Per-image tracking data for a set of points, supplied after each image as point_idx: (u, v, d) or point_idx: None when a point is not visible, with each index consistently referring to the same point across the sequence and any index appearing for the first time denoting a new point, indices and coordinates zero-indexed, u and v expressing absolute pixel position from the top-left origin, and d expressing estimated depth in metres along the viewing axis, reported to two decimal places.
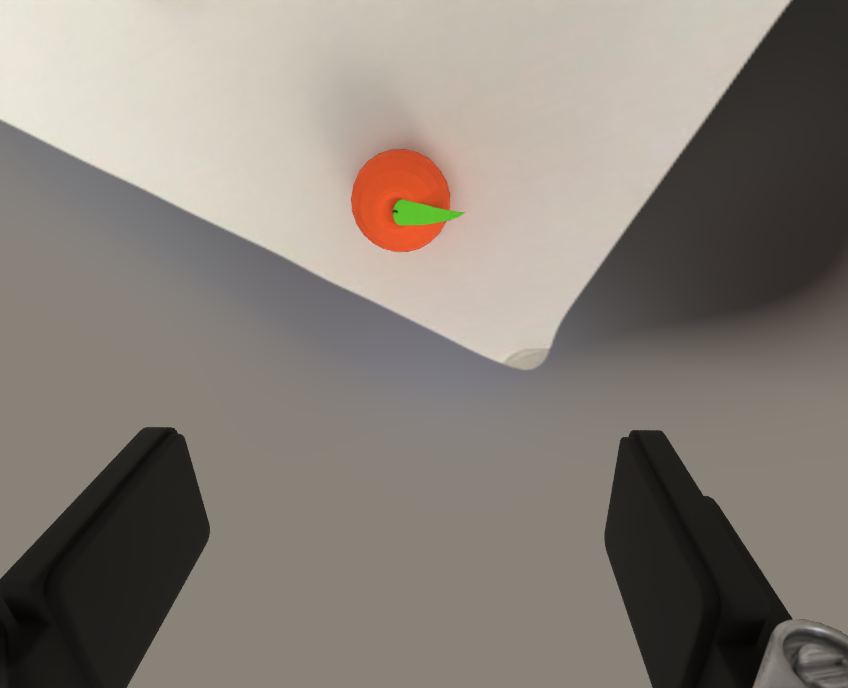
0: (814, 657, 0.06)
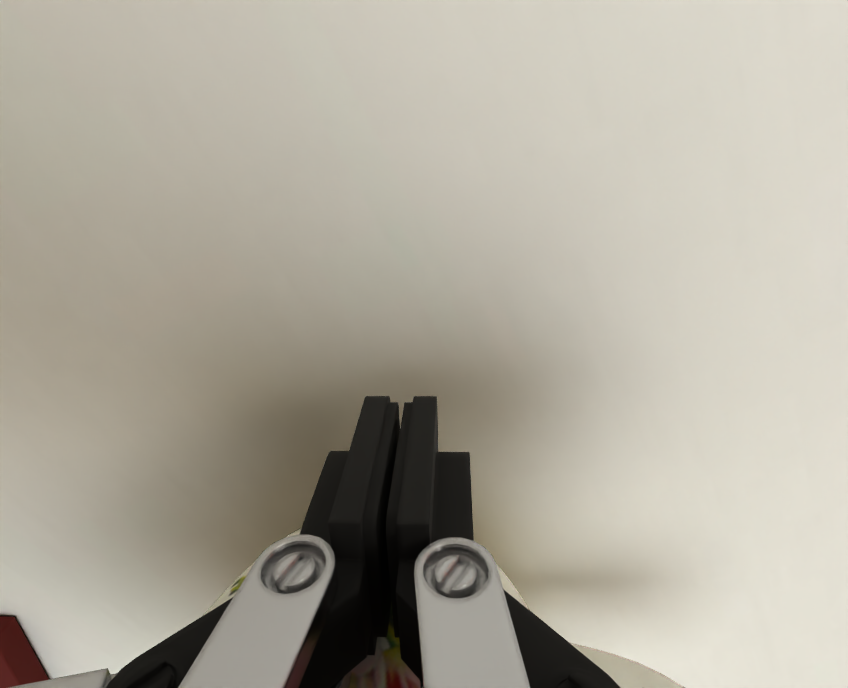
0: (444, 569, 0.07)
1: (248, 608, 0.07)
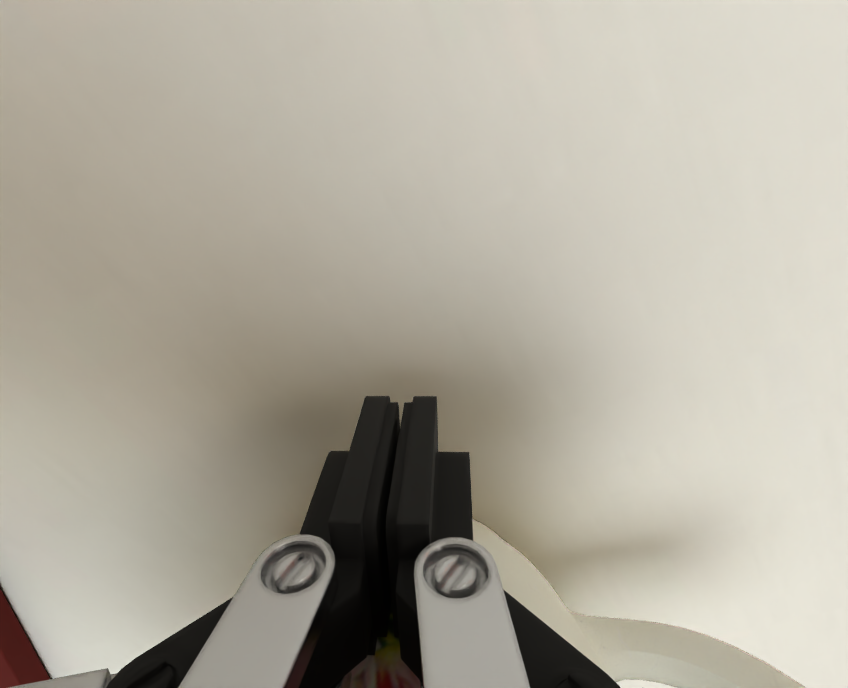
0: (444, 570, 0.07)
1: (248, 608, 0.07)
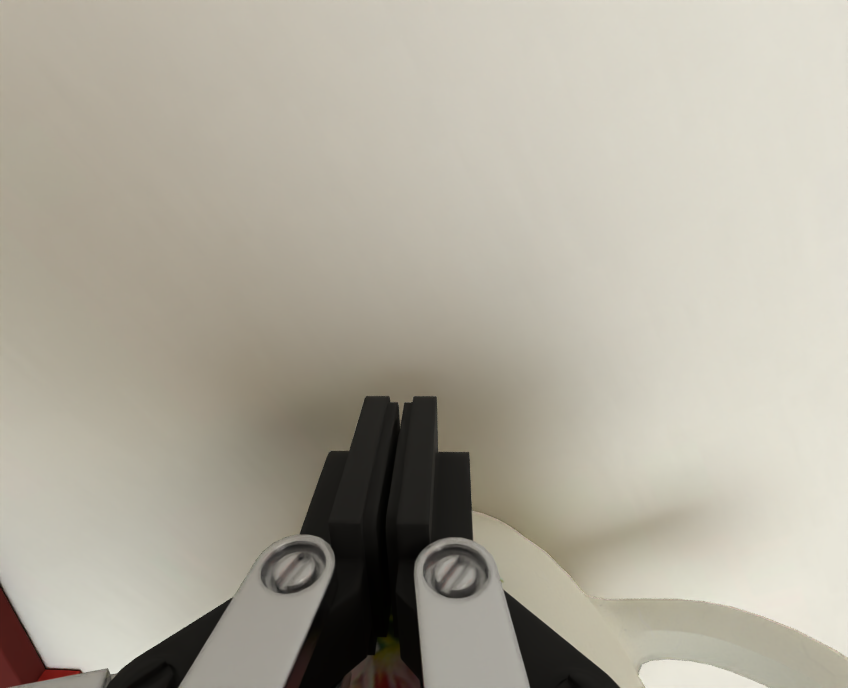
0: (444, 570, 0.07)
1: (248, 608, 0.07)
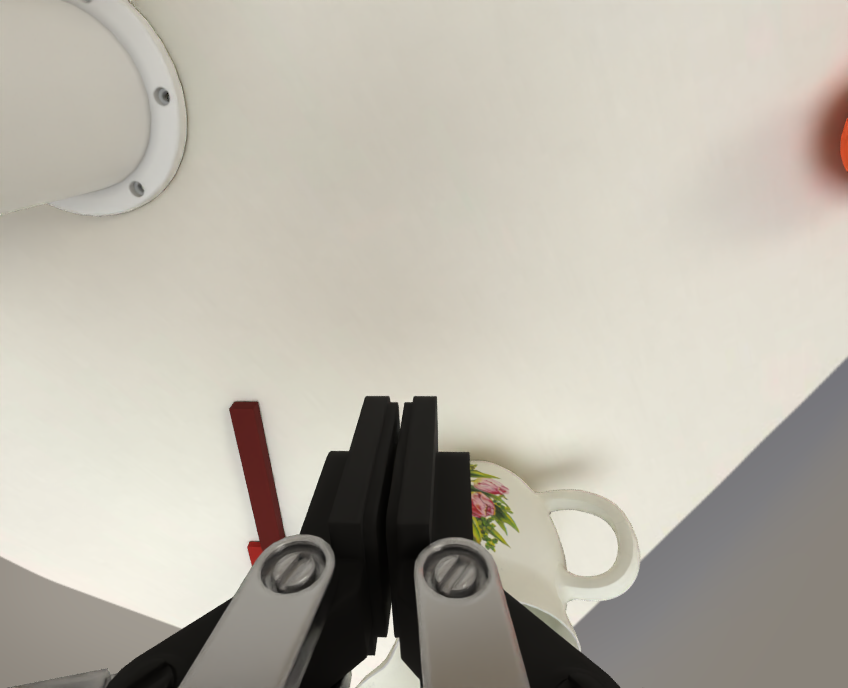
0: (444, 570, 0.07)
1: (248, 608, 0.07)
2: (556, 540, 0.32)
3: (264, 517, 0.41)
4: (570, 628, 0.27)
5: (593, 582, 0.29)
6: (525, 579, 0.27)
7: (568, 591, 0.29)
